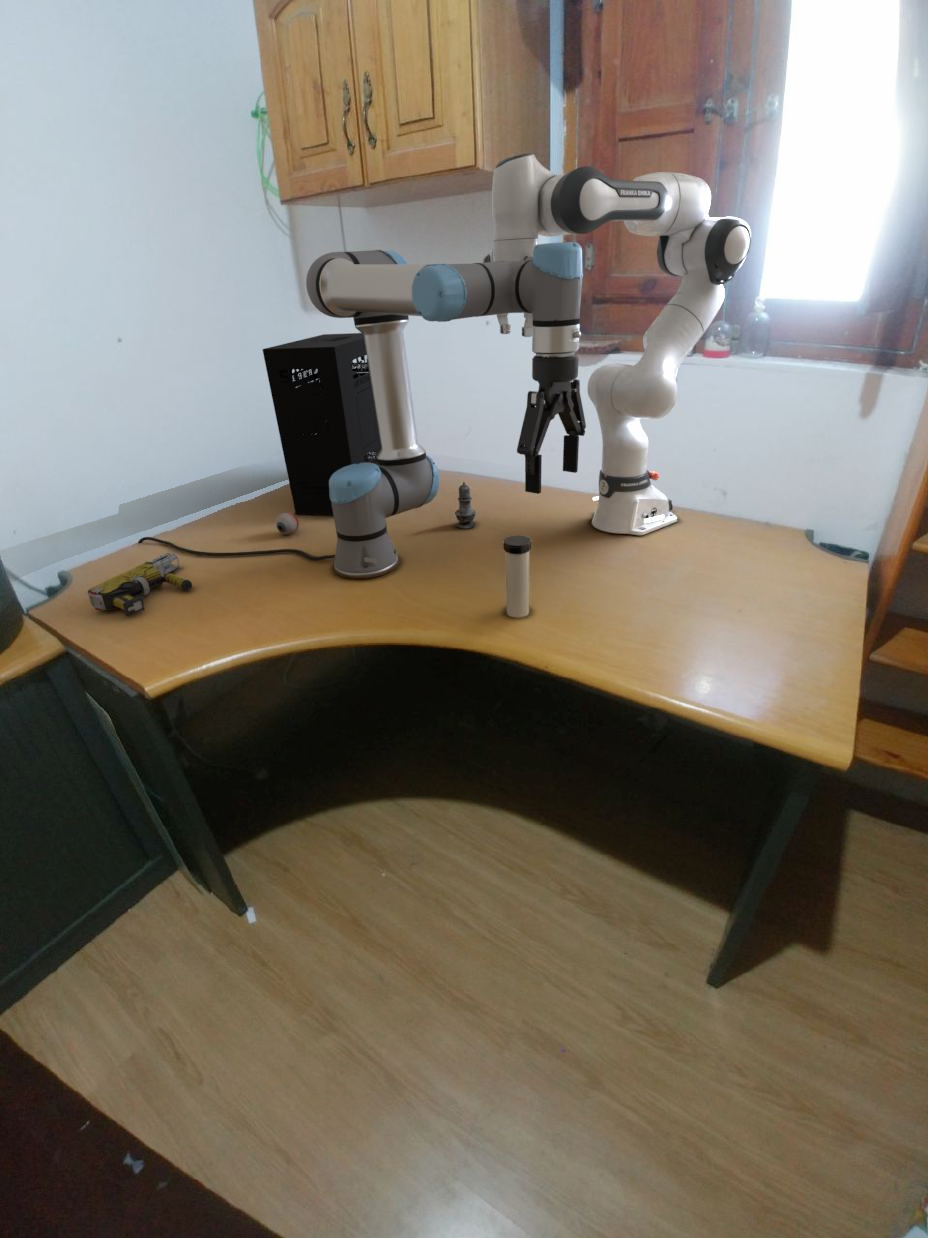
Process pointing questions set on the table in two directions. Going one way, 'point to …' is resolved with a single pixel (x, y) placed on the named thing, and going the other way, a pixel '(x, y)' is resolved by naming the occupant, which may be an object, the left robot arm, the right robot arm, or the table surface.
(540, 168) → the right robot arm
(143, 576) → the toy gun
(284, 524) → the eyeball
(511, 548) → the lid
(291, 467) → the black computer case
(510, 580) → the jar
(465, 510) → the grey chess piece
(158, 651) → the table surface
